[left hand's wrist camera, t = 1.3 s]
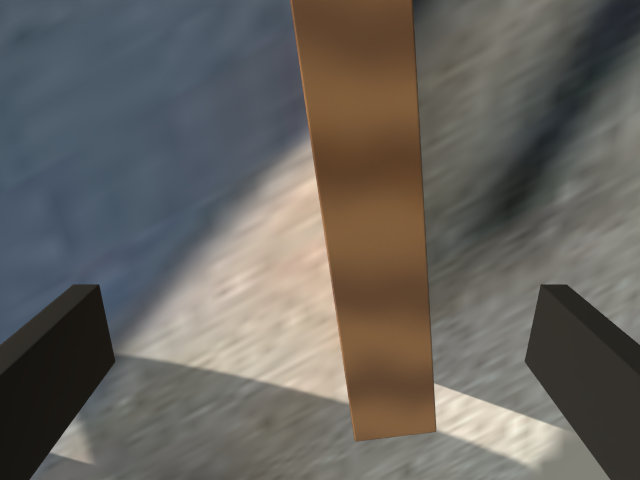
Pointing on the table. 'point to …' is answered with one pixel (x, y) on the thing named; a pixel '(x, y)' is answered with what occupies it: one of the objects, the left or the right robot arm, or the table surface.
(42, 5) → the table surface
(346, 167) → the beam
